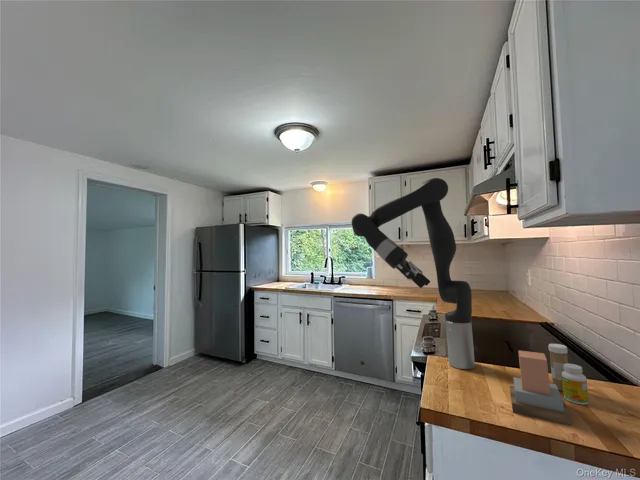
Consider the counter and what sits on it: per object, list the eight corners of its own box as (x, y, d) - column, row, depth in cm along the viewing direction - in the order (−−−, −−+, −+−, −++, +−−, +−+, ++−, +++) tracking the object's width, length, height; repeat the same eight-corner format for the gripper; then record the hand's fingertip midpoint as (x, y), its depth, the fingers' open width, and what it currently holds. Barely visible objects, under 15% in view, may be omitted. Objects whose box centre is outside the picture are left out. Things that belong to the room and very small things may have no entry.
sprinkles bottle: (554, 384, 89) (549, 342, 90) (572, 388, 86) (568, 345, 87) (550, 388, 86) (546, 345, 87) (570, 393, 83) (565, 348, 84)
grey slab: (514, 387, 83) (513, 377, 83) (557, 395, 77) (556, 384, 78) (515, 402, 75) (515, 390, 75) (564, 412, 69) (562, 399, 69)
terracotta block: (521, 381, 80) (518, 350, 81) (547, 386, 77) (544, 353, 78) (522, 389, 75) (519, 356, 76) (550, 395, 72) (546, 360, 73)
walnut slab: (510, 395, 84) (509, 385, 84) (561, 405, 78) (560, 394, 78) (513, 414, 74) (512, 403, 74) (571, 427, 67) (570, 415, 68)
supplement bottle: (559, 398, 80) (556, 364, 81) (570, 394, 82) (567, 361, 83) (582, 406, 75) (578, 370, 76) (593, 402, 77) (589, 367, 78)
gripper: (392, 245, 93) (429, 278, 86) (403, 246, 105) (437, 275, 98) (378, 260, 95) (413, 295, 88) (390, 260, 107) (422, 290, 100)
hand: (426, 284), depth 93 cm, fingers open, 8 cm apart
